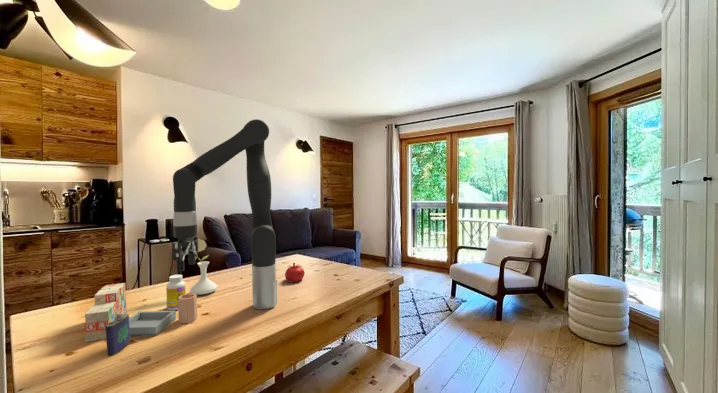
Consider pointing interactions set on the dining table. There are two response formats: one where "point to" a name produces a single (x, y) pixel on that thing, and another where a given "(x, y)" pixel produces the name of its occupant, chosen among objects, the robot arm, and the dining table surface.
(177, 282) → the supplement bottle
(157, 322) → the tray
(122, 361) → the dining table surface
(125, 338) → the flask
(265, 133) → the robot arm
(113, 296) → the stack of blocks
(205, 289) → the flower in vase
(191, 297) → the beaker
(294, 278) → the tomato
